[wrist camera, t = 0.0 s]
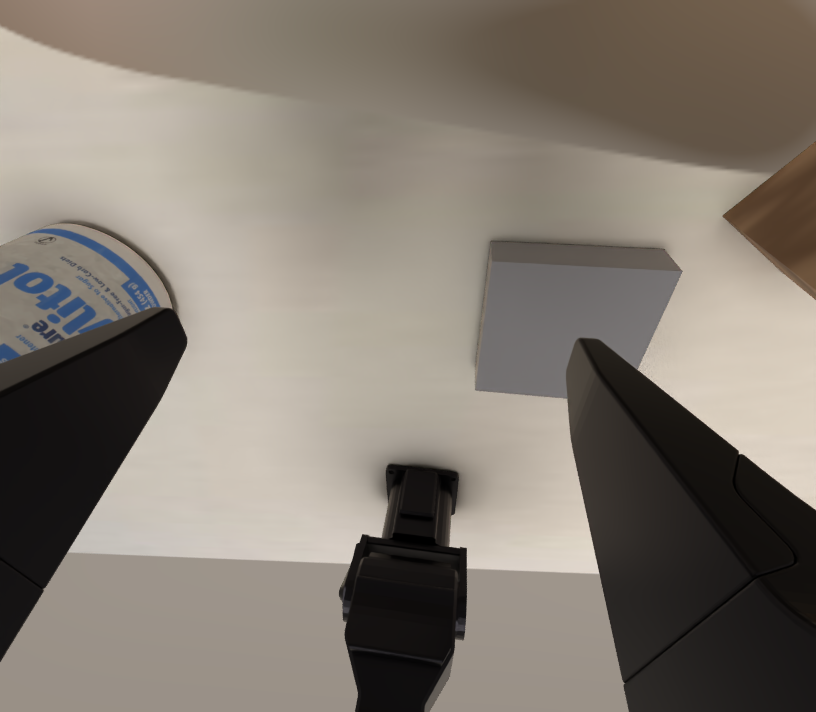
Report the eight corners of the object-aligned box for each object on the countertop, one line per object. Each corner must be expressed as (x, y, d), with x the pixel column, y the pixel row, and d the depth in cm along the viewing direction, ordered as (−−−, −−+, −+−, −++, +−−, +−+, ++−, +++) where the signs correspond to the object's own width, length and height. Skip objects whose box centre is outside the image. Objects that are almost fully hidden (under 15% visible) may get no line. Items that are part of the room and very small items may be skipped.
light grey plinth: (611, 376, 27) (621, 403, 25) (475, 365, 28) (474, 390, 26) (664, 249, 21) (682, 271, 19) (490, 241, 22) (491, 261, 20)
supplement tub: (200, 289, 27) (1, 476, 16) (153, 361, 32) (-22, 541, 21) (50, 182, 24) (-336, 325, 13) (24, 281, 29) (-267, 445, 18)
